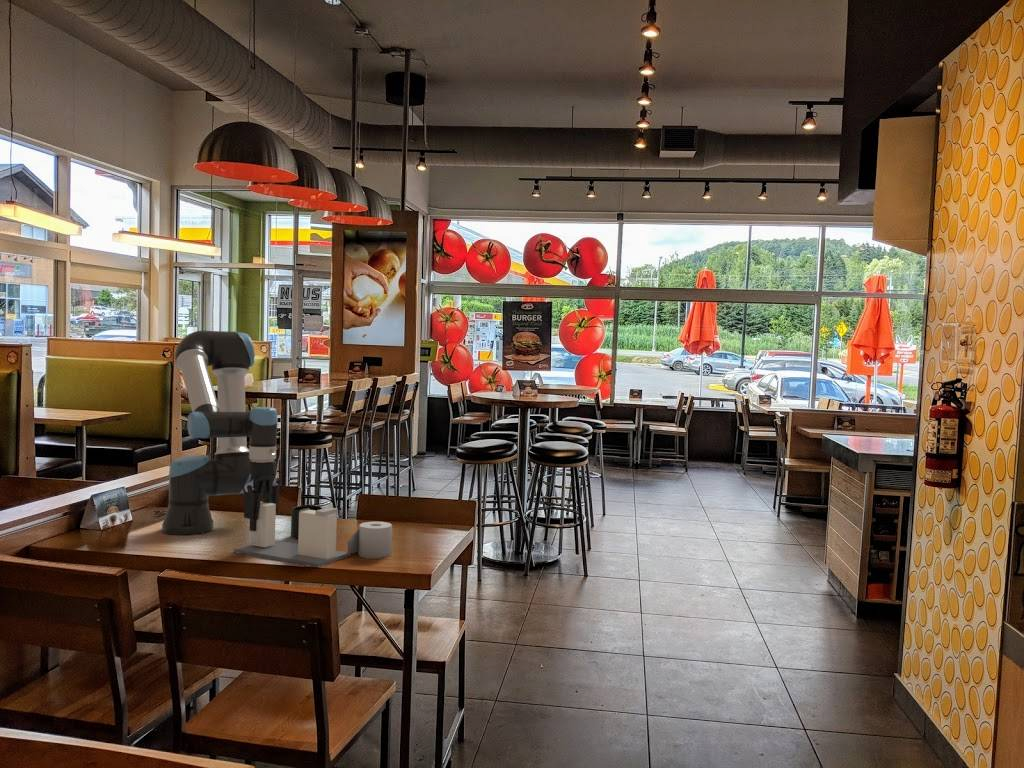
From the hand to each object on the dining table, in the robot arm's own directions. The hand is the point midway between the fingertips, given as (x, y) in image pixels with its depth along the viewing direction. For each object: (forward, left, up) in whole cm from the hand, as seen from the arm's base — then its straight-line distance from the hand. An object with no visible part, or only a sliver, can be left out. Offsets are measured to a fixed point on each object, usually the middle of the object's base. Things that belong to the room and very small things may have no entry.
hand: (260, 539), depth 224 cm
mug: (+2, +19, -3) cm, 19 cm away
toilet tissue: (+30, +12, -3) cm, 33 cm away
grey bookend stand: (+11, 0, -3) cm, 12 cm away
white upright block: (+1, 0, -1) cm, 1 cm away
